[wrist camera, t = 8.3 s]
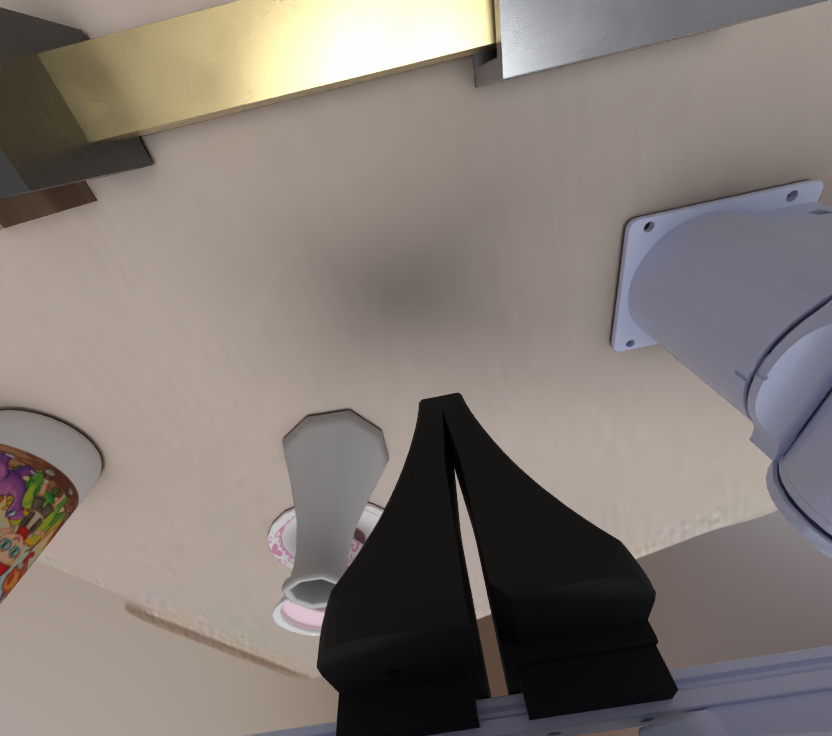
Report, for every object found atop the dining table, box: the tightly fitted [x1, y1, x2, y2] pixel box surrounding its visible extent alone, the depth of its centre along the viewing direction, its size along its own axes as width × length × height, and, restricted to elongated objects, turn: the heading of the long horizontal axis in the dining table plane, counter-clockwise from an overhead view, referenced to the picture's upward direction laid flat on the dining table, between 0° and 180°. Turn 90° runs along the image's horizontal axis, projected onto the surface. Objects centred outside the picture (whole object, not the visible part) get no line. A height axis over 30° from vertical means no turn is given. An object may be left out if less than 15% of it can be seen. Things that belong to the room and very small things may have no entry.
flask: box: [282, 410, 389, 609], centre depth 23 cm, size 7×7×10 cm
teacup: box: [268, 503, 384, 636], centre depth 31 cm, size 12×12×6 cm
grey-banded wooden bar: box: [0, 0, 497, 199], centre depth 12 cm, size 20×4×7 cm, turn 101°
